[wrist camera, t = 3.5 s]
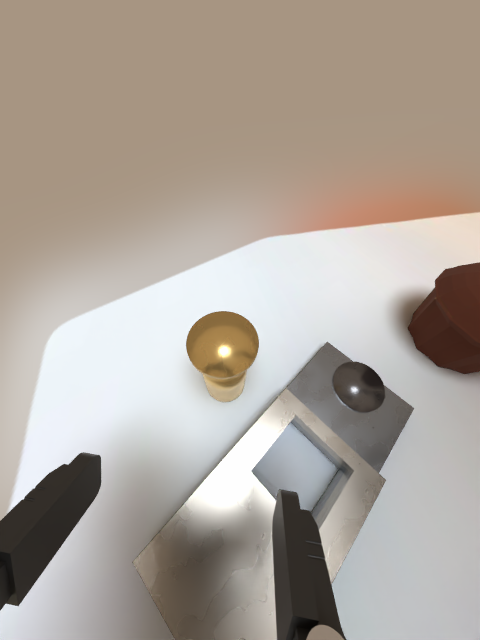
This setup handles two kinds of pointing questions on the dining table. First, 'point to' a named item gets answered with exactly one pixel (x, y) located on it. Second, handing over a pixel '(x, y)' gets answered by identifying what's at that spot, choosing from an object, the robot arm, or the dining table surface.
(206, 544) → the plate
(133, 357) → the dining table surface
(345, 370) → the link plate lower
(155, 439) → the dining table surface
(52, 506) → the robot arm
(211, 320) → the brass pin
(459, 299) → the muffin
